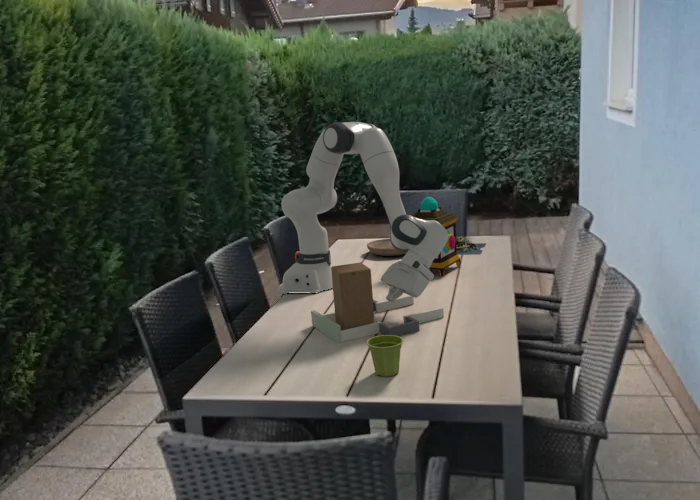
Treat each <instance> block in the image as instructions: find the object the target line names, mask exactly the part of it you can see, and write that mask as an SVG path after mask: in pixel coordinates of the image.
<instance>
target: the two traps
mask: <svg viewBox="0 0 700 500" xmlns="http://www.w3.org/2000/svg"><path fill="white" fill-rule="evenodd" d="M377 302H378V301H377V300H375V299H373V307H374V313H375V312H376V303H377ZM376 313H377V312H376ZM405 321H406V323H404V322H403V323H399V324H395V325H391V326H390V325H388V324H386V323H384V322H383V321H381V322H382V323H379V330H380V333H379V334H381V335H394V336H399V337H401V336H404V335H407V334H411V333H415V332H419V331H420V323H419V321H417V320H415V319H413V318H411V317H409V316H408V317H405Z"/></svg>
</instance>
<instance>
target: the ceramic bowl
mask: <svg viewBox="0 0 700 500" xmlns="http://www.w3.org/2000/svg"><path fill="white" fill-rule="evenodd" d="M366 248H367V249H368V251H370V252H371V253H373V254H375V255H377V256H383V257H397V256H403V255H404V256H405V254H406V253H403V252H399V251H397V250H396V249H395V248H394V247H393V246H392V244H391V241H390V238H383V239H377V240H373V241H370V242H368V243H367V244H366Z"/></svg>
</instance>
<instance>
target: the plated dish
mask: <svg viewBox="0 0 700 500" xmlns="http://www.w3.org/2000/svg"><path fill="white" fill-rule="evenodd" d="M486 245H487V243H485V242H484V243H483V242H479V243H474V242H472V241H471V240H469V239H466V236H465V235H462V236H456V248H457V254H458V256H466V255H467V256H468V255H471V256H472V255H473V256H474V255H477V256H478V255H479V256H481V254H483V250H482V248H483V249H484V248H485V247H486Z"/></svg>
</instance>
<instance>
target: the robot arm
mask: <svg viewBox="0 0 700 500" xmlns="http://www.w3.org/2000/svg"><path fill="white" fill-rule="evenodd" d="M358 154H359V156H360V158H361V160H362V163H363V166H364V170H365V172H366V173H367V176H368V177H369V180H370V182H371V183H372V186H374V188H375V191H376V192H377V194H378V195H379V197H380V200H381V202H382V204H383V207H384V210H385V214H386V216H387V219H388V222H389V225H390V235H389V239H390V241H391V244H392V246H393V247H394V248H395V249H396V250H397V251H399V252H403V253H406V254H404V256H403V257H402V259H401V260H398V261H397V262H394V263H392V264H391V265H390V266H389V267H388V268H387V269H386V270H385V272H383V274H382V276H381V278H380V281H381V282H382V283H383V284H385V286H387V287H388V289H389V290H388V293H387V295H386V296H385V299H386V300H388V301H390V302H393V303H394V301H395V300H396V299H397V298H399V297H402V296H403V294H406V295H407V296H409V295H410V296H412V297H413V298H414V299H417V298H419V297H420V296H421V295H422V294H423V293H424V291H425V290H426V288H427V286H428V285H429V283H430V282H431V281H432V280H433V279H434V277H435V275H434V274H433V272H432V271H431V269H429V268H430V266H431V264H432V262H433V260H434V259H435V258H436V257H437V256H438V255H439V254H440V252H441V251H442V249H443V248H444V246H445V244H446V242H447V240H448V232H447V230H446V229H445V227H444V226H443V225H442V224H441V223H439V222H437V221H436V220H422V219H418V218H416V217H413V216H412V215H410V214H407V213H406V210H405V207H404V203H403V201H402V197H401V193H400V168H399V167H400V166H399V163H398V159H397V156H396V153H395V151H394V149H393V147H392V144H391V142H390V139H389V138H388V136H387V135H386V133H385V131H384V130H382V129H381V128H379V127H377V126H376V125H375V124H372V123H369V122H361V121H348V122H346V121H344V122H341V121H338V122H334V123H330V124H328V125H327V126H326V127H325V128H324V129H323V130H322V132H321V133H320V135H319V136H318V138H317V140H316V142H315V144H314V147H313V149H312V152H311V155H310V158H309V160H308V162H307V165H306V170H305V172H306V174H307V176H308V177H309V182H308V185H306V186H305V187H301V188H295V189H293V190H291V191H290V192H289V191H288V193H286V194H285V195H284V196H283V197H282V199H281V204H280V205H281V210H282V212H283V214H284V216H285V217H287V218H289V219H290V220H291V222H292V223H293V226H294V227H295V230H296V232H297V239H298V246H299V251H296V252H295V254H294V261H295V263H293V264H292V265H291V266H290V267H289V268H288V269H287V270H286V271H285V272H284V274H283V277H282V283H281V284H280V285H278V286H277V293H278V294H282V295H286V294H287V293H289V292H310V293H316V292H319V293H321V292H320V291H322V292H324V291H323V290H325V291H329V290H331V288H332V289H333V284H332V272H331V267H332V266H331V265H332V255H331V250H330V249H329V239H328V231H327V229H326V228H325V227H324V226H323V225H321V224H320V222H319V219H318V215H321V214H323V213H326V212H328V211H330V210H331V209H333V208H334V207H335V206H336V204H337V202H338V195H337V192H336V189H334V187H335V186H334V185H335V179H336V176H337V174H338V171H339V168H340V166H341V163H342V160H343V158H344V155H358ZM328 289H329V290H328ZM316 294H317V293H316ZM287 295H288V294H287Z"/></svg>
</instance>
